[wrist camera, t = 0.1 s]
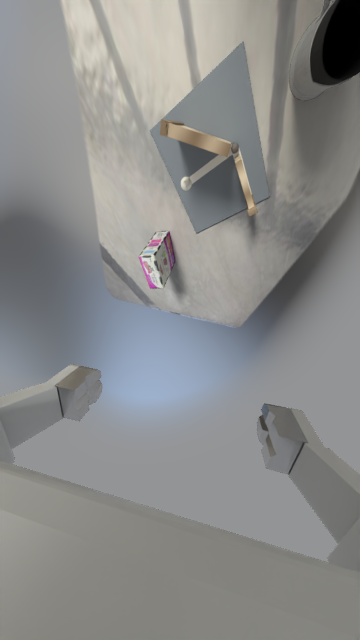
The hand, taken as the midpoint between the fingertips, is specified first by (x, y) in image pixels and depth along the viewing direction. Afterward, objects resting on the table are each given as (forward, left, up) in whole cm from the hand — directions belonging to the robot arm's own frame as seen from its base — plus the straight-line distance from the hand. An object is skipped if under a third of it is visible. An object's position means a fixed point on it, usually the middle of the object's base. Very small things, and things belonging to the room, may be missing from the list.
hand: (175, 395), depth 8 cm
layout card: (-4, -1, -54) cm, 54 cm away
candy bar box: (+9, -23, -54) cm, 60 cm away
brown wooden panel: (-9, -1, -54) cm, 54 cm away
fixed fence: (+1, +5, -54) cm, 54 cm away
